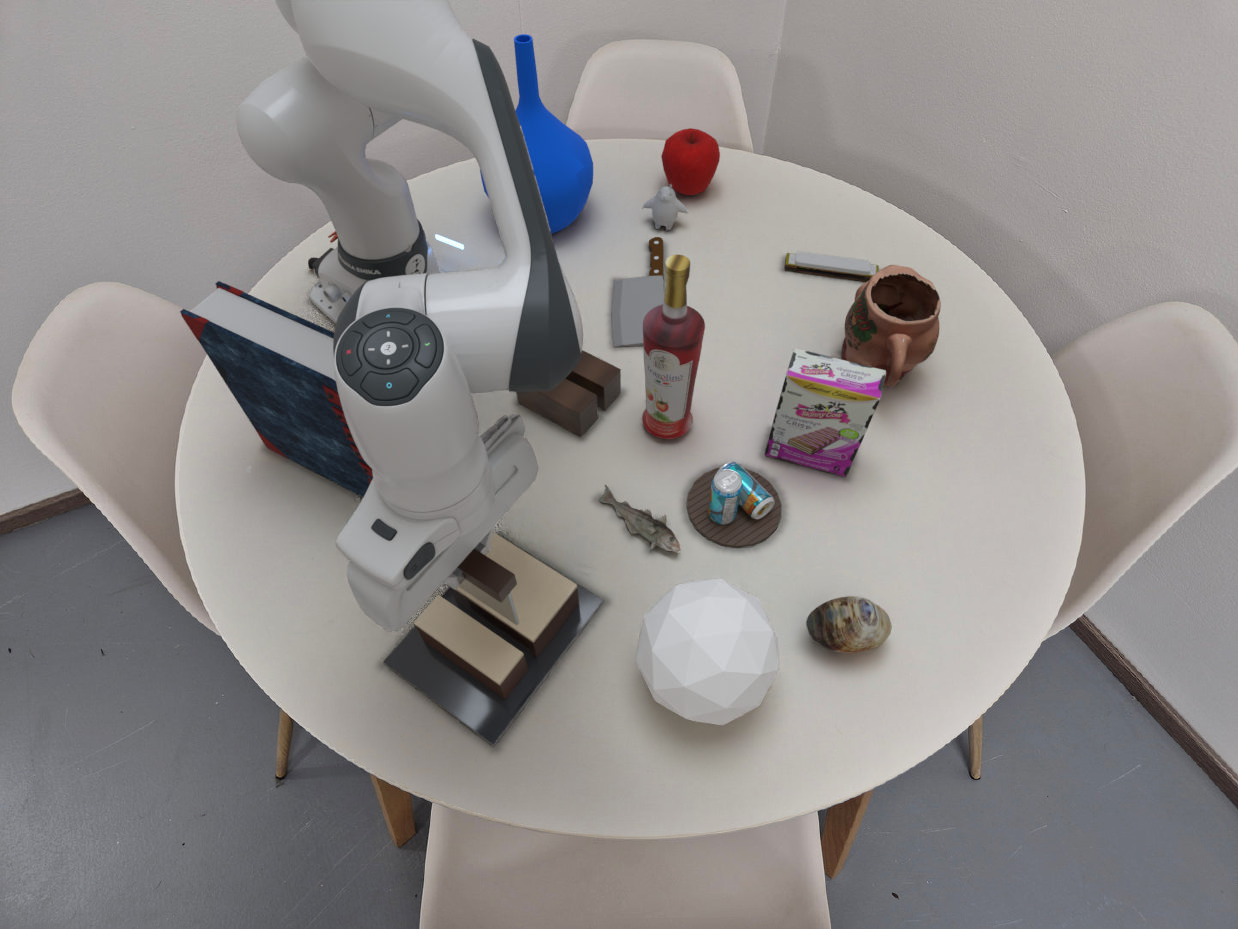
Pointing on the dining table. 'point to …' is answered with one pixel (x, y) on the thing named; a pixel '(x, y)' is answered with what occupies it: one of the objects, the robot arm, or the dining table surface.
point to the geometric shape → (708, 651)
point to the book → (281, 381)
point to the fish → (644, 523)
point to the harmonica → (831, 266)
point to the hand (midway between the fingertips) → (467, 566)
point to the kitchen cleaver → (637, 299)
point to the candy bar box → (824, 411)
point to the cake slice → (471, 646)
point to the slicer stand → (577, 395)
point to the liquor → (671, 355)
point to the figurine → (665, 207)
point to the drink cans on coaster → (734, 506)
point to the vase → (550, 147)
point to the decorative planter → (892, 322)
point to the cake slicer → (489, 584)
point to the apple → (690, 160)
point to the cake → (543, 635)
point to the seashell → (849, 624)
